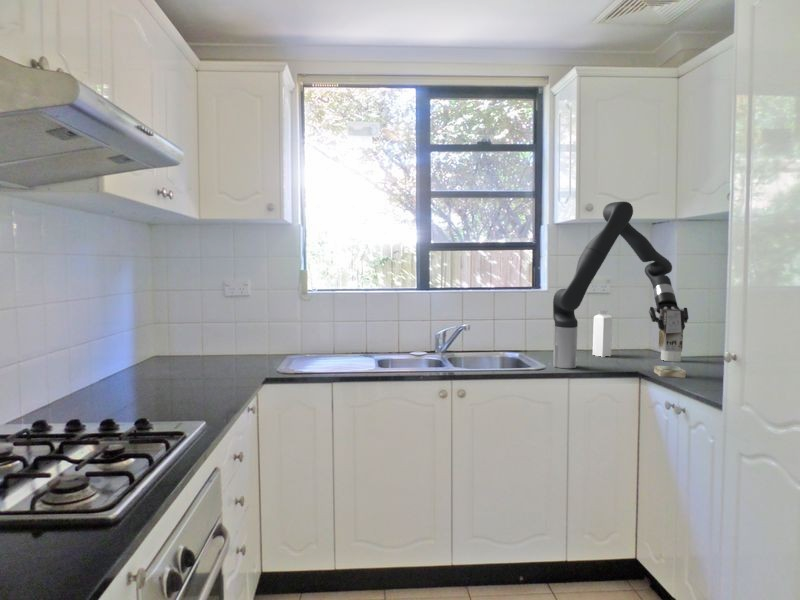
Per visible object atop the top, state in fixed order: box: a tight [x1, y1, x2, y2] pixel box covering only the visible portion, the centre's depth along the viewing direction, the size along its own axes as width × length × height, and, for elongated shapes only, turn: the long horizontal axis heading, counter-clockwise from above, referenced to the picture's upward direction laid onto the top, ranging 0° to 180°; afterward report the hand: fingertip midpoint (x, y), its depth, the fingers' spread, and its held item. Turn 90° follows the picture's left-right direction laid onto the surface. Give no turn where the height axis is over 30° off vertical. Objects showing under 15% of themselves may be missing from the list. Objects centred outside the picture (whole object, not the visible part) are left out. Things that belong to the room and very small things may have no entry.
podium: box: [653, 365, 687, 379], centre depth 202 cm, size 9×9×3 cm
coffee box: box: [658, 308, 685, 353], centre depth 201 cm, size 9×6×16 cm
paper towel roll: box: [660, 349, 682, 363], centre depth 232 cm, size 7×6×21 cm
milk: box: [592, 309, 613, 358], centre depth 243 cm, size 6×6×22 cm
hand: (672, 329), depth 199 cm, fingers closed on coffee box, 6 cm apart
